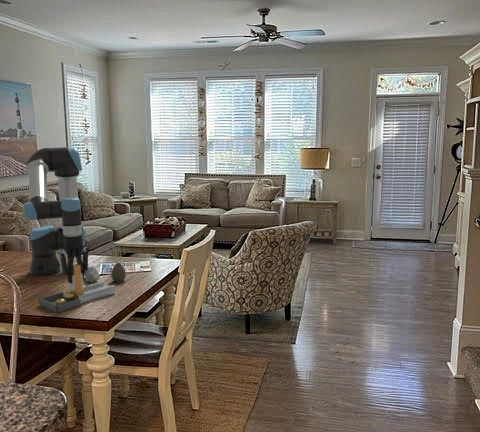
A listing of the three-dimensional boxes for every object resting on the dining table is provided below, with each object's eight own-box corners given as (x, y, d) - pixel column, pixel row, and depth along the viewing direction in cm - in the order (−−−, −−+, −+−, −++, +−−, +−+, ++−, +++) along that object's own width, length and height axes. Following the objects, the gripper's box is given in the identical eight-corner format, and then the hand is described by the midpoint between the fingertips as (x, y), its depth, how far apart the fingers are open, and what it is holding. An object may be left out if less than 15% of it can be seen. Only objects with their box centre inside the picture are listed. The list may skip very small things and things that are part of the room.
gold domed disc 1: (54, 304, 196) (54, 299, 196) (63, 301, 199) (63, 297, 198) (58, 306, 193) (58, 302, 193) (68, 304, 196) (67, 299, 196)
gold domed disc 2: (63, 298, 198) (62, 294, 198) (71, 295, 201) (70, 291, 201) (68, 300, 196) (68, 295, 196) (77, 297, 199) (76, 293, 199)
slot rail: (66, 299, 203) (65, 291, 203) (102, 288, 217) (101, 281, 216) (78, 304, 197) (78, 296, 196) (115, 293, 210) (114, 285, 210)
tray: (39, 305, 196) (38, 298, 196) (63, 298, 204) (62, 291, 204) (56, 313, 187) (56, 306, 187) (81, 305, 195) (80, 298, 195)
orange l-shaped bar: (70, 294, 202) (68, 264, 200) (76, 292, 204) (74, 263, 202) (77, 296, 198) (75, 267, 196) (84, 295, 201) (82, 265, 198)
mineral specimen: (103, 284, 224) (102, 270, 222) (87, 286, 221) (86, 272, 220) (98, 275, 238) (97, 262, 236) (83, 277, 235) (82, 264, 234)
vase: (113, 278, 232) (112, 261, 230) (127, 278, 232) (127, 261, 230) (109, 283, 225) (108, 265, 224) (124, 283, 225) (123, 265, 223)
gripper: (59, 239, 188) (64, 295, 192) (94, 232, 201) (98, 285, 205) (50, 237, 193) (54, 292, 197) (85, 230, 205) (88, 282, 209)
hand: (76, 288), depth 201 cm, fingers closed on orange l-shaped bar, 3 cm apart
